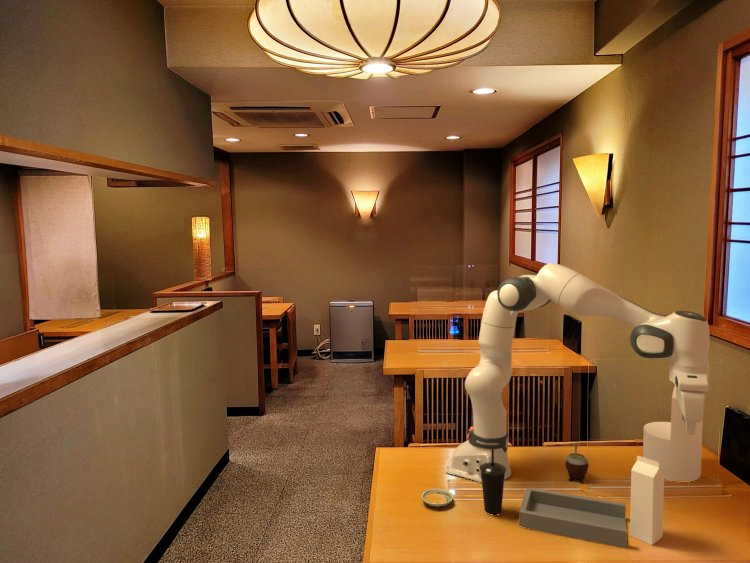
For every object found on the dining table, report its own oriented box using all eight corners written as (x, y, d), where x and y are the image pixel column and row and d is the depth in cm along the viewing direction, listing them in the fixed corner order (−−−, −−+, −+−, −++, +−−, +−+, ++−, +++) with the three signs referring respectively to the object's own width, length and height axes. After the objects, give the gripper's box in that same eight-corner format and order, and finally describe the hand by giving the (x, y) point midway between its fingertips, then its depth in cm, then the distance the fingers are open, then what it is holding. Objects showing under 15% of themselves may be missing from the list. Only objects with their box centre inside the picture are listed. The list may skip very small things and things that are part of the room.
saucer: (456, 498, 168) (456, 491, 167) (447, 514, 159) (447, 506, 159) (427, 493, 172) (427, 486, 171) (417, 508, 163) (417, 500, 163)
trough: (519, 526, 151) (519, 511, 150) (526, 501, 164) (526, 487, 164) (626, 548, 140) (626, 531, 139) (625, 518, 153) (625, 503, 153)
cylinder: (701, 465, 184) (704, 387, 181) (700, 487, 170) (703, 402, 166) (645, 455, 193) (647, 380, 190) (639, 475, 179) (641, 394, 176)
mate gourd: (578, 472, 182) (578, 430, 180) (594, 483, 174) (595, 439, 173) (560, 476, 179) (560, 434, 178) (575, 487, 172) (576, 443, 170)
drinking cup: (507, 506, 162) (507, 443, 159) (504, 520, 154) (504, 454, 152) (481, 503, 164) (481, 440, 162) (478, 516, 157) (477, 451, 155)
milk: (651, 546, 140) (654, 466, 138) (629, 535, 145) (631, 458, 143) (662, 537, 144) (665, 459, 141) (640, 527, 149) (642, 451, 146)
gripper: (670, 363, 147) (669, 412, 148) (679, 385, 128) (678, 440, 130) (696, 365, 144) (695, 414, 146) (710, 387, 126) (708, 443, 127)
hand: (687, 427), depth 138 cm, fingers open, 8 cm apart
